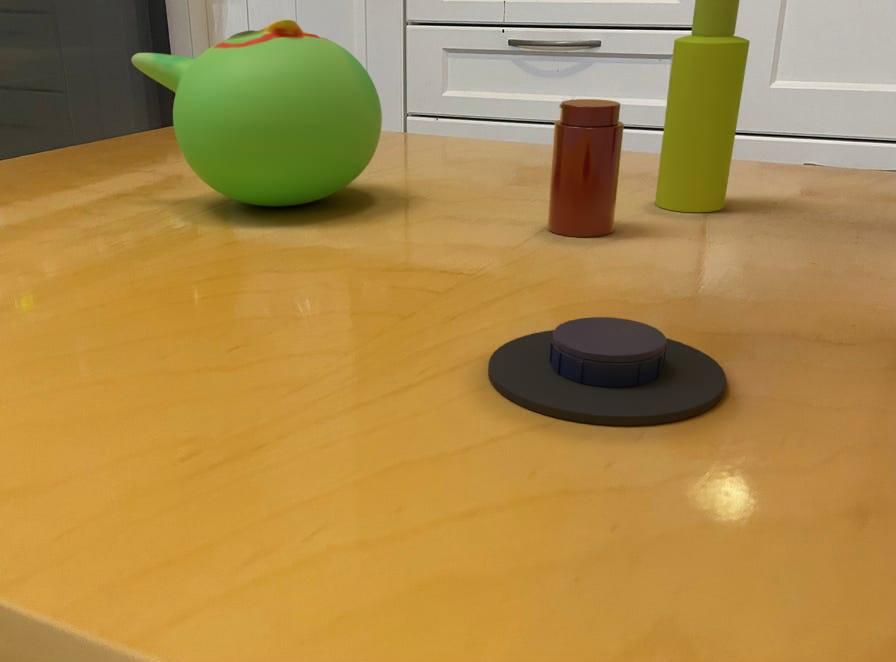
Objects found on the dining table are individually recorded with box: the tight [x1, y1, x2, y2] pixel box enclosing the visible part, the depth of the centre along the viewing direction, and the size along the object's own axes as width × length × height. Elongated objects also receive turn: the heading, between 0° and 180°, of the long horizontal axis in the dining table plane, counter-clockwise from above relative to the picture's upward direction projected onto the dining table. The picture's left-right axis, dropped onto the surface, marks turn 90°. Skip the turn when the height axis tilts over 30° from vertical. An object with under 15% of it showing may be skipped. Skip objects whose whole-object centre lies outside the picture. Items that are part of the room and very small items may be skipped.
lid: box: [550, 316, 667, 388], centre depth 48 cm, size 6×6×2 cm
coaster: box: [487, 329, 727, 427], centre depth 48 cm, size 12×12×1 cm
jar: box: [547, 98, 625, 238], centre depth 73 cm, size 5×5×9 cm
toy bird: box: [131, 18, 383, 207], centre depth 80 cm, size 18×17×15 cm
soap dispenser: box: [654, 0, 751, 213], centre depth 78 cm, size 6×7×20 cm
